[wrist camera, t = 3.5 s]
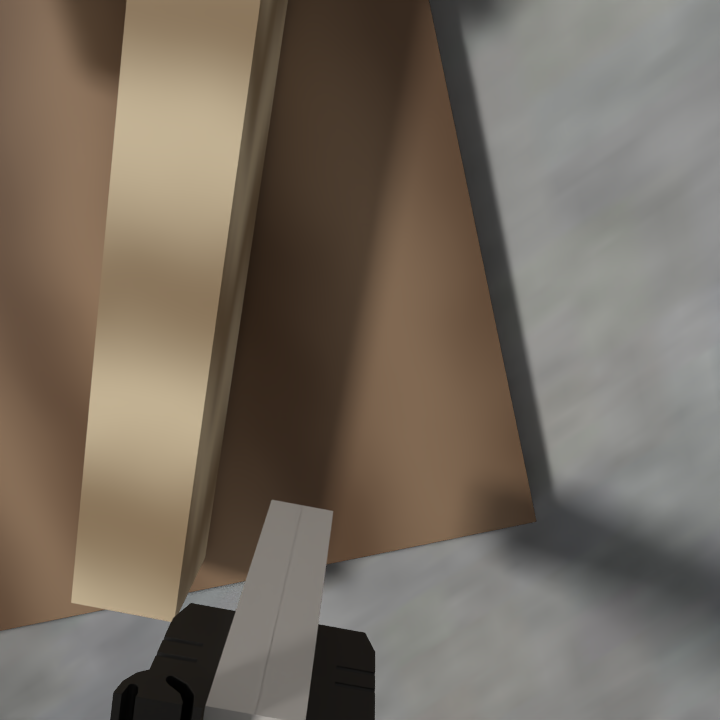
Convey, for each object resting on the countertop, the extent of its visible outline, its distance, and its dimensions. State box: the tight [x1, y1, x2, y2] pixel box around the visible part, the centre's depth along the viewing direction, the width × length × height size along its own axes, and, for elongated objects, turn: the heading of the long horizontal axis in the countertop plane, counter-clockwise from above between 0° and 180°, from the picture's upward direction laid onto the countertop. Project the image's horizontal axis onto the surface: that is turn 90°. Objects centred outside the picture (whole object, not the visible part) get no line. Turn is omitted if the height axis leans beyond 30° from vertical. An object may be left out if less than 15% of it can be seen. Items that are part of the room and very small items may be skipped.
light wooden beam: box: [71, 0, 288, 622], centre depth 18 cm, size 24×5×4 cm, turn 169°
